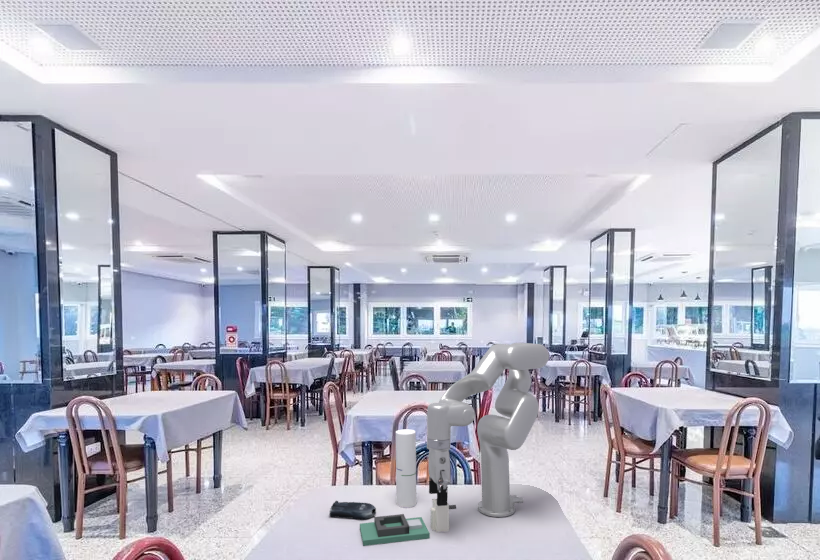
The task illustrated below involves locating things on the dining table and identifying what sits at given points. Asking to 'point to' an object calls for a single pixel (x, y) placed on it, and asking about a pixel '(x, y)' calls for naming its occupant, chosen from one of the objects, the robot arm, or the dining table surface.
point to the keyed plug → (440, 516)
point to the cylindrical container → (406, 468)
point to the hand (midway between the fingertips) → (437, 499)
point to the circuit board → (393, 530)
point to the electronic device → (352, 510)
